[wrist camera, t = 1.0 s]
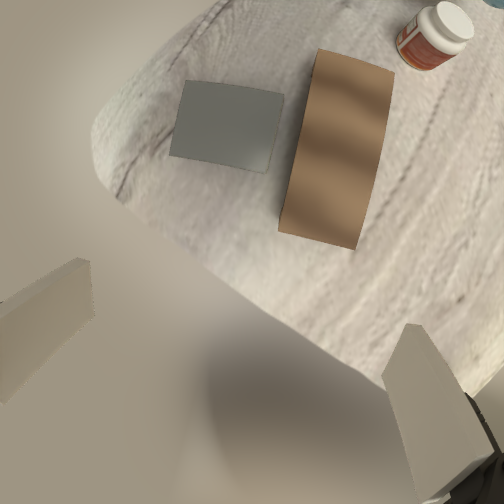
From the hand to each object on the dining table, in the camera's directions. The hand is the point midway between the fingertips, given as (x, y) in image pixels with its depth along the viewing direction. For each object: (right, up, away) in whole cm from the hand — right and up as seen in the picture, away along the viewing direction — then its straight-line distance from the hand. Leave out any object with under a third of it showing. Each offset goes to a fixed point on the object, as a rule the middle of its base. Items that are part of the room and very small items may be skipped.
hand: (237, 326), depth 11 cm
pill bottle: (+21, +28, +14) cm, 38 cm away
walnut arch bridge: (+10, +14, +20) cm, 26 cm away
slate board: (-2, +17, +21) cm, 27 cm away
